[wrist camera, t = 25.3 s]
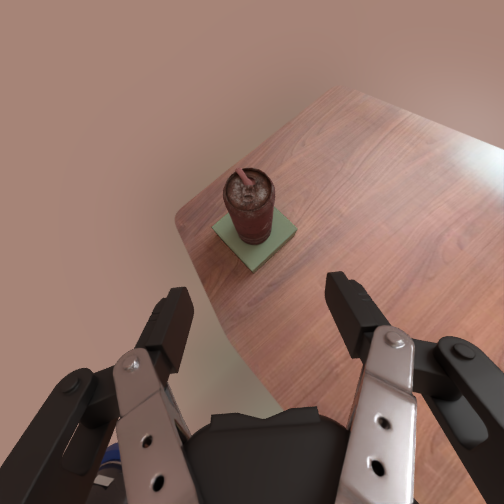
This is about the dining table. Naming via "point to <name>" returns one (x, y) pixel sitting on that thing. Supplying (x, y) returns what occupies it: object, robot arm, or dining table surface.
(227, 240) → the plate
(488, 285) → the dining table surface
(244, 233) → the can
